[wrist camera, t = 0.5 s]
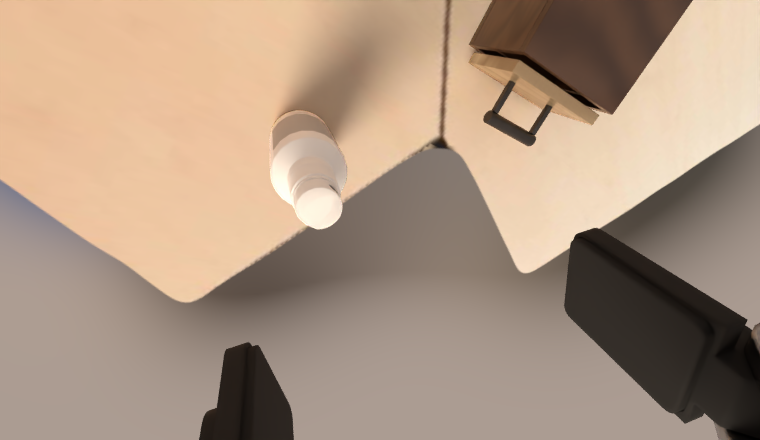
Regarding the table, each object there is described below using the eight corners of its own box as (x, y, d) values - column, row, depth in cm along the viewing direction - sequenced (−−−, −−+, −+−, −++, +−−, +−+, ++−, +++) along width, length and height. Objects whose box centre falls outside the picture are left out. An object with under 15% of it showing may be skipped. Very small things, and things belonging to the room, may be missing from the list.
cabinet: (547, 97, 47) (612, 115, 38) (468, 44, 42) (523, 51, 33) (632, -39, 42) (731, -55, 33) (556, -121, 36) (650, -166, 27)
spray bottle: (342, 139, 43) (383, 206, 28) (301, 179, 44) (319, 264, 29) (299, 95, 39) (319, 143, 24) (256, 139, 40) (248, 212, 25)
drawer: (519, 143, 48) (564, 165, 41) (446, 102, 43) (484, 120, 36) (620, -17, 42) (696, -25, 34) (549, -88, 37) (621, -115, 29)
